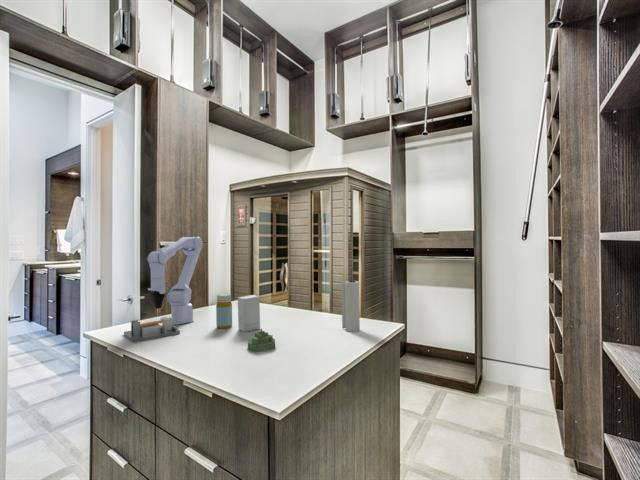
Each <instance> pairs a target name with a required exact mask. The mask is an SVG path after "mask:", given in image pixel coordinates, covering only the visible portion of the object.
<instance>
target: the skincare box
mask: <svg viewBox="0 0 640 480" xmlns="http://www.w3.org/2000/svg"><path fill="white" fill-rule="evenodd" d="M260 308H261V307H260V296H259V295H255V294H250V295H245V296H239V297H237V315H238V316H237V317H238V318H237V319H238V320H237V321H238V330H239V331H241V332H243V333H246V332H251V331H255V330H259V329H260V330H261V317H260V316H261V314H260V311H261V309H260Z"/></svg>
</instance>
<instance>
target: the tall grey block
mask: <svg viewBox="0 0 640 480" xmlns="http://www.w3.org/2000/svg"><path fill="white" fill-rule="evenodd" d="M341 316H342V317H341V322H342V324H341V325H342V326H341V327H342V329H345V331H346V332H351V333H352V332H353V333H355V332H360V330H361V329H360V328H361V326H360V321H361V320H360V282H359V281H358V280H344V281H343V280H342V281H341Z"/></svg>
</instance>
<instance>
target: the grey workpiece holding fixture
mask: <svg viewBox="0 0 640 480" xmlns="http://www.w3.org/2000/svg"><path fill="white" fill-rule="evenodd" d="M140 324H141V321H139V320H138V319H134V320H131V321H130V330H126V331H123V335H124V336H125V338H127V339H128V340H129V341H130V342H131V343H138V342H144V341H148V340H154V339H159V338H160V339H161V338H165V337H171V336H174V335H176V336H177V335H180V334H181V330H179V327H178V326H176V325H173V324H172V330H169V331H167V329H165V328H163V327H162V325H161V324H160V323H158V324H152V325H147V326H141V327H140Z"/></svg>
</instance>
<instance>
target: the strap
mask: <svg viewBox="0 0 640 480" xmlns="http://www.w3.org/2000/svg"><path fill="white" fill-rule="evenodd" d="M152 324H162V320H161V319H159V320H155V321H150V322H149V321H147V322H143V323H142V322H140V327H141V326H147V325H152Z"/></svg>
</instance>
